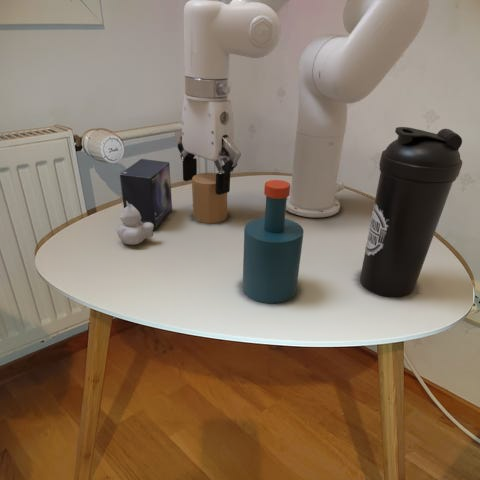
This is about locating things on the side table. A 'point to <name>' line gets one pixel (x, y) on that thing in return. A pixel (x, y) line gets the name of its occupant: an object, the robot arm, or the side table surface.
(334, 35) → the robot arm
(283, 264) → the teal bottle
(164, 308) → the side table surface
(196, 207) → the light brown faceted cylinder
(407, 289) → the water bottle
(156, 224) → the small box
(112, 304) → the side table surface
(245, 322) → the side table surface
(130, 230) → the rubber duck
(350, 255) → the side table surface
